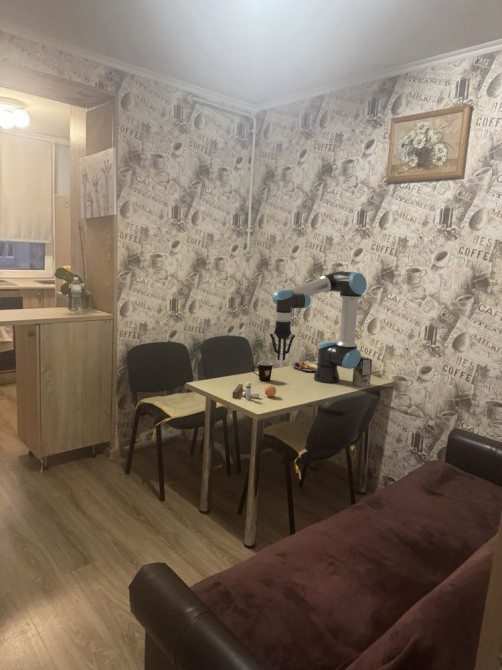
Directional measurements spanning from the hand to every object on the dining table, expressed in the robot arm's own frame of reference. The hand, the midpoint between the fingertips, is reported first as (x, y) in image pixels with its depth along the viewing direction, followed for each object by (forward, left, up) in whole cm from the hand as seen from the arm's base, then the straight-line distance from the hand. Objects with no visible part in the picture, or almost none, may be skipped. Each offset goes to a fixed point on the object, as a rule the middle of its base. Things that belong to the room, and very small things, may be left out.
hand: (280, 366), depth 236 cm
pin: (+10, +5, -15) cm, 19 cm away
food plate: (-12, -71, -17) cm, 74 cm away
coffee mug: (+14, -31, -17) cm, 38 cm away
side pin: (+15, +8, -16) cm, 24 cm away
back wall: (+22, 0, -16) cm, 27 cm away
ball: (+5, 0, -13) cm, 14 cm away
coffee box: (-43, -39, -17) cm, 60 cm away
